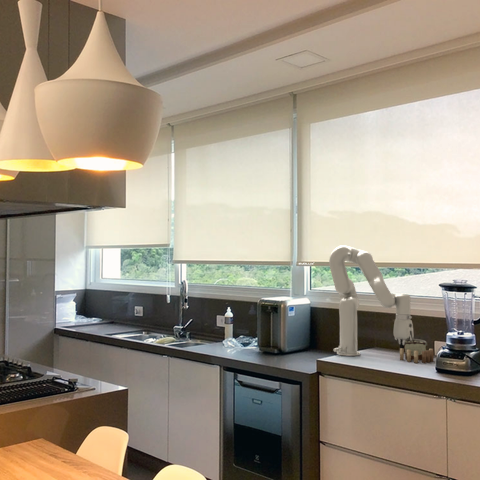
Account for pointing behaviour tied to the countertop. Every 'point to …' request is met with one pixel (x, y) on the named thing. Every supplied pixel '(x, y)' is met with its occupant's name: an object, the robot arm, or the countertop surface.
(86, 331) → the countertop surface
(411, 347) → the food container
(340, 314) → the robot arm
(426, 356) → the peg bay
